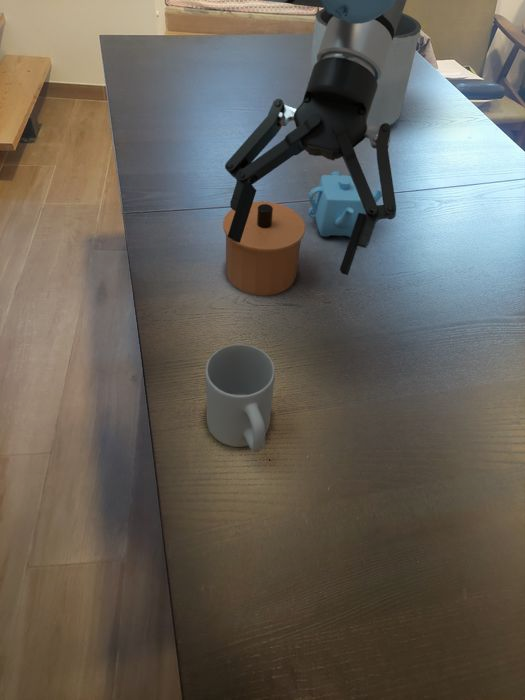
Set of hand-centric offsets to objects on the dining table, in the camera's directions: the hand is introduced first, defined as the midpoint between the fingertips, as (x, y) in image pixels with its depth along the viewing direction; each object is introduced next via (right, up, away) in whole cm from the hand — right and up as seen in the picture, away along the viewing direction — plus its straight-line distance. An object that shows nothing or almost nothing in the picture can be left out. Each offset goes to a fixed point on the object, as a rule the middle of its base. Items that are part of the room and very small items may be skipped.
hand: (287, 256), depth 59 cm
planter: (+21, +52, +78) cm, 96 cm away
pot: (-3, +3, +32) cm, 32 cm away
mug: (-5, -22, +10) cm, 24 cm away
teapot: (+13, +13, +43) cm, 46 cm away
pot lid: (-3, +9, +25) cm, 27 cm away
